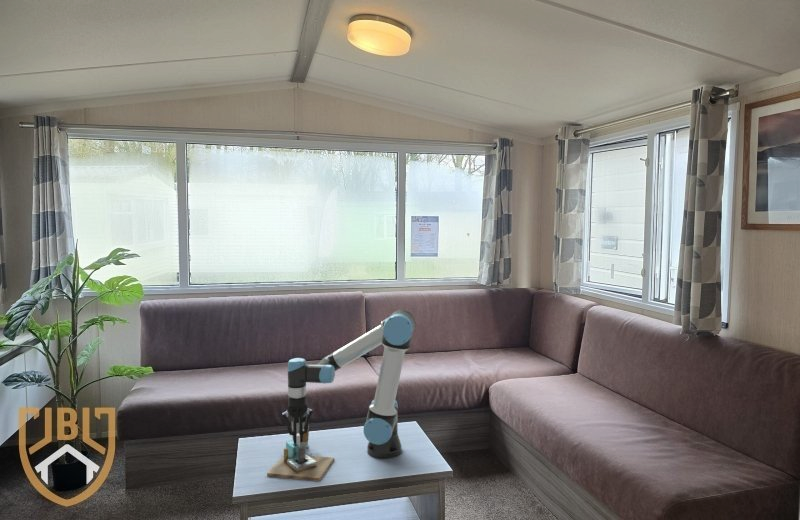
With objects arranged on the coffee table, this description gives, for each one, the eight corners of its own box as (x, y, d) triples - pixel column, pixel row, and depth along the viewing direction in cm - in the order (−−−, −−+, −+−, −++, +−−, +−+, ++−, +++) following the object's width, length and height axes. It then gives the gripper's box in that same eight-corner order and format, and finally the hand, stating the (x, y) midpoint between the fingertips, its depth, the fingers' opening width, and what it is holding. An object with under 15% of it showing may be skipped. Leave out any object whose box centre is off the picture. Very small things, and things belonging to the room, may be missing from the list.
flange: (298, 452, 220) (298, 438, 220) (316, 465, 207) (316, 450, 207) (279, 457, 214) (278, 444, 214) (297, 471, 202) (296, 457, 201)
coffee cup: (305, 451, 223) (305, 418, 223) (288, 450, 225) (287, 417, 224) (312, 444, 232) (312, 411, 231) (295, 442, 233) (295, 410, 232)
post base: (334, 460, 215) (334, 440, 215) (319, 481, 197) (319, 459, 197) (285, 456, 219) (285, 437, 219) (267, 476, 201) (266, 455, 201)
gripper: (311, 391, 219) (311, 443, 221) (280, 394, 215) (281, 448, 217) (314, 396, 212) (314, 451, 214) (282, 400, 208) (283, 455, 210)
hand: (298, 449), depth 215 cm, fingers closed
